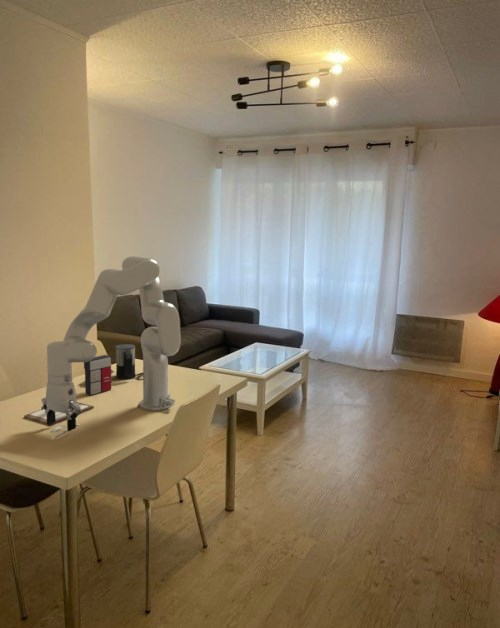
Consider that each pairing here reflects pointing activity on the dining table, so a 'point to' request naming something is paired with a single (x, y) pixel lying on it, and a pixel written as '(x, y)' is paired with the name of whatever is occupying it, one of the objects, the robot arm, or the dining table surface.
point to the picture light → (59, 429)
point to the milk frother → (125, 361)
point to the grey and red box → (98, 375)
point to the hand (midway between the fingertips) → (61, 426)
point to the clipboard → (42, 416)
